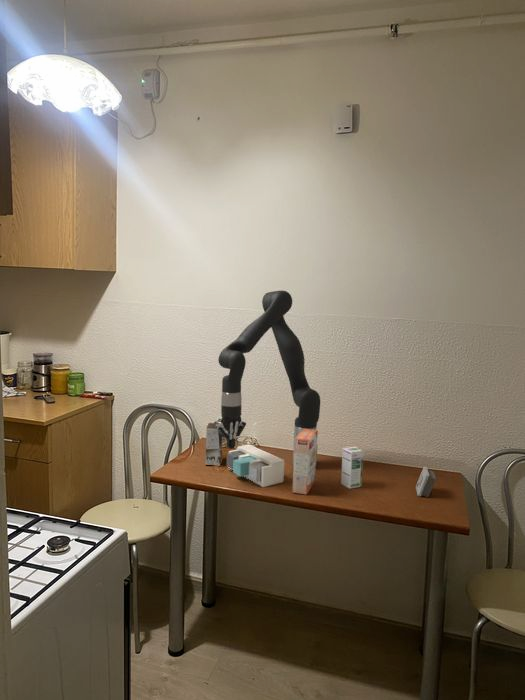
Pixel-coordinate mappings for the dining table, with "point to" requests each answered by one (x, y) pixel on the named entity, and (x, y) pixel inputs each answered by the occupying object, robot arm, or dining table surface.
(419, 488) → the electrical switch
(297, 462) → the cracker box
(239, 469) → the teal plug
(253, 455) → the socket housing
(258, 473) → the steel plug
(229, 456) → the charcoal plug
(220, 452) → the coffee box
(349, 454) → the syrup box
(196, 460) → the dining table surface
